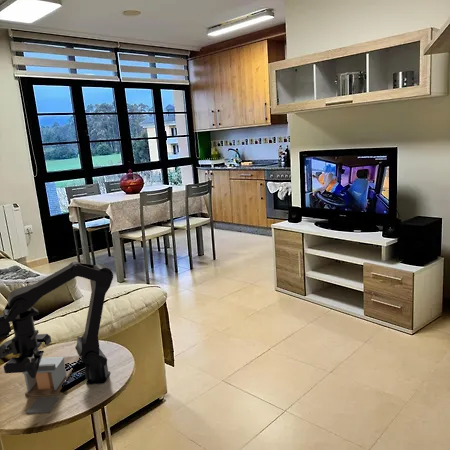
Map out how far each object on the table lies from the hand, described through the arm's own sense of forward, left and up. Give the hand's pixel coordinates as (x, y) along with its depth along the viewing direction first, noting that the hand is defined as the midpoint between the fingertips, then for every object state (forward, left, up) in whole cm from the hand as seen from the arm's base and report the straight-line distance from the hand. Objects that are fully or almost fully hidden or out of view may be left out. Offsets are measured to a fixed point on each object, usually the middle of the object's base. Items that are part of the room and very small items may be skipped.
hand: (33, 377), depth 131 cm
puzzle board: (0, -13, -8) cm, 16 cm away
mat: (-3, +3, -8) cm, 9 cm away
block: (0, -7, -8) cm, 11 cm away
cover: (0, -7, -7) cm, 10 cm away
